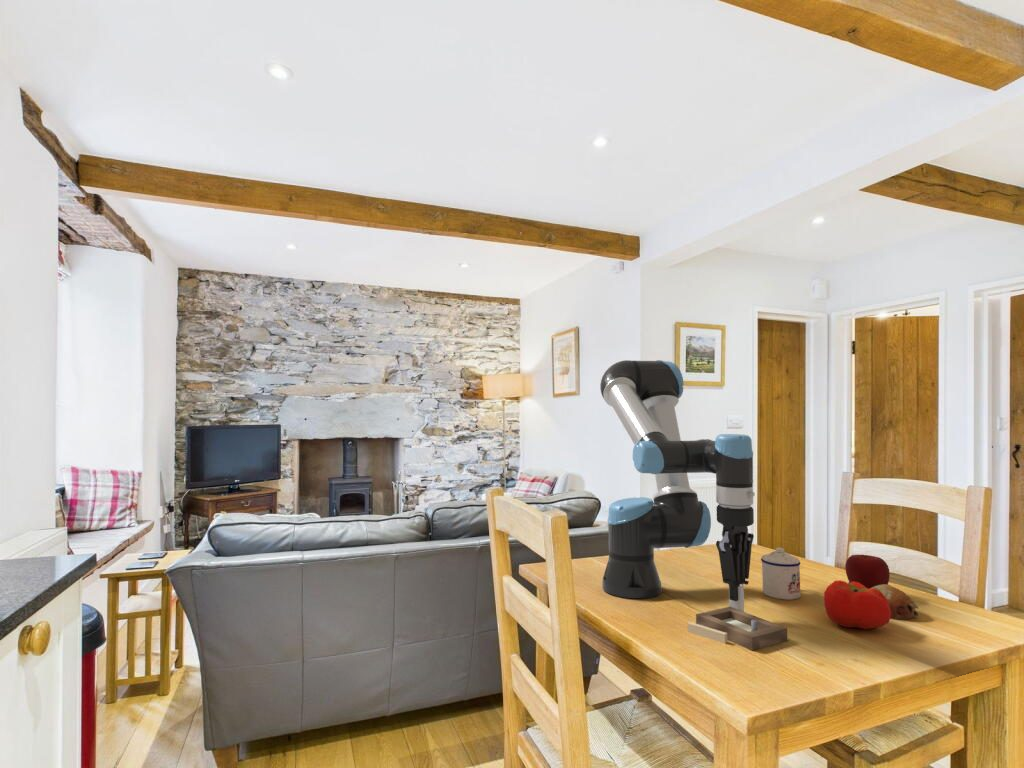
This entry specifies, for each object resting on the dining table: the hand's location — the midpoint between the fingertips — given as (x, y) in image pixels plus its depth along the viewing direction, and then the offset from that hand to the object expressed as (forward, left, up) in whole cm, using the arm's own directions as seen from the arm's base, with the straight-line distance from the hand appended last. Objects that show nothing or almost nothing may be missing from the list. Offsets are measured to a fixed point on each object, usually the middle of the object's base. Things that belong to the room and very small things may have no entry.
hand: (736, 614), depth 121 cm
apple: (+13, +45, -3) cm, 47 cm away
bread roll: (+20, +34, -3) cm, 39 cm away
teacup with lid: (-2, +30, -3) cm, 30 cm away
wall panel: (+3, -8, -2) cm, 9 cm away
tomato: (+18, +19, -3) cm, 26 cm away
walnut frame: (+4, -7, -1) cm, 9 cm away
